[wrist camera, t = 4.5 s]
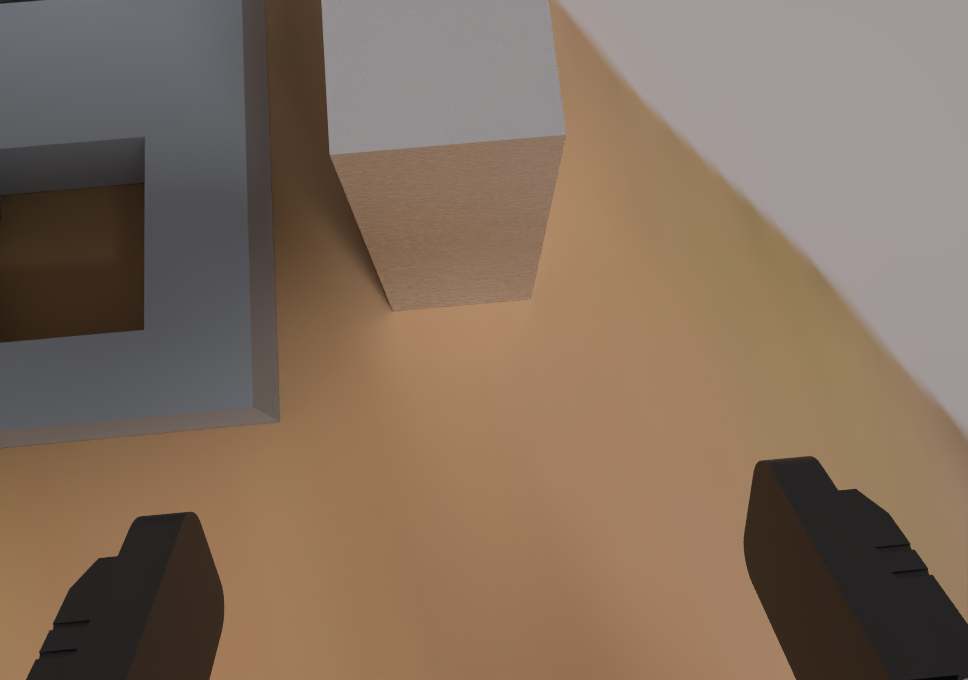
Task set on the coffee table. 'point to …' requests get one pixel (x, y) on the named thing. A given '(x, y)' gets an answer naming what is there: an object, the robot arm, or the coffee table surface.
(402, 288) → the block
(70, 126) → the grey square hole board
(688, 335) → the coffee table surface
